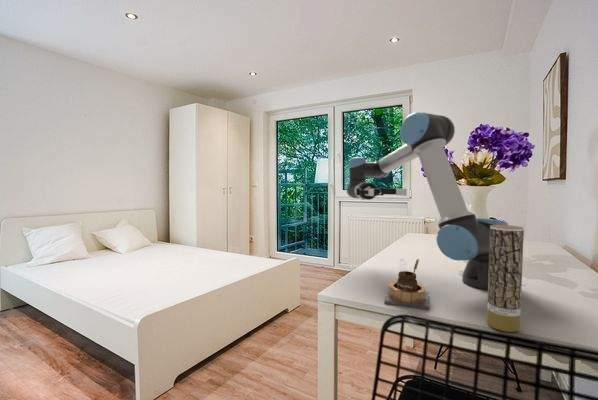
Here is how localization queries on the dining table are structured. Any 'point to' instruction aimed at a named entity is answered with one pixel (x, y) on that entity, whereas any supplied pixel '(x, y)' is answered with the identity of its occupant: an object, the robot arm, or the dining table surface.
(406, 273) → the utensil holder
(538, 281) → the dining table surface
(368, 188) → the robot arm
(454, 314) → the dining table surface
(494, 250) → the paper tube
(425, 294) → the collar plate
